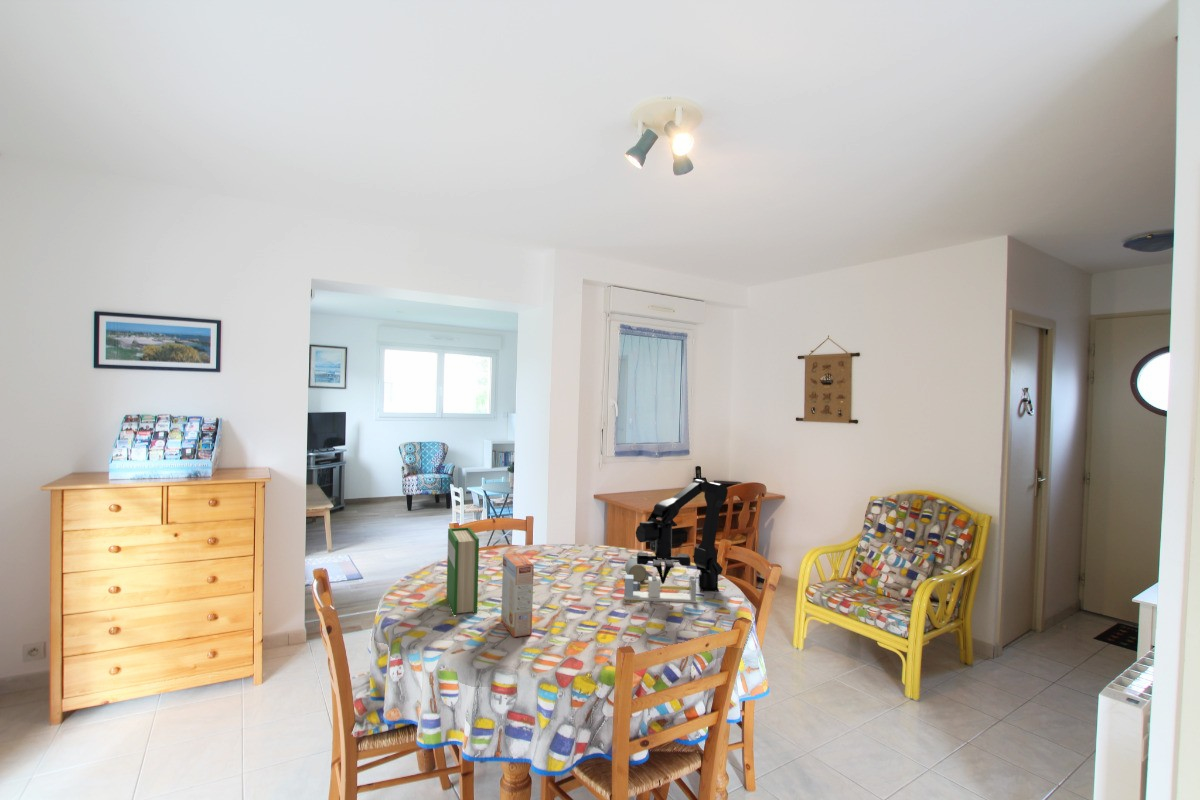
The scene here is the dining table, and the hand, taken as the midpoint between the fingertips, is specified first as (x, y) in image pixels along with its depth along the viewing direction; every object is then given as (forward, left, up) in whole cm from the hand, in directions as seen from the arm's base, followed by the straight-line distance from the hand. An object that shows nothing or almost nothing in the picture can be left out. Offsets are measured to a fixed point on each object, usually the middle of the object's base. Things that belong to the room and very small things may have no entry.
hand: (662, 583), depth 192 cm
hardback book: (+68, +15, -5) cm, 70 cm away
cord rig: (+1, 0, -5) cm, 5 cm away
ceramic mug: (+8, -19, -5) cm, 22 cm away
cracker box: (+46, +31, -5) cm, 56 cm away
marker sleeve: (+3, 0, -4) cm, 5 cm away
